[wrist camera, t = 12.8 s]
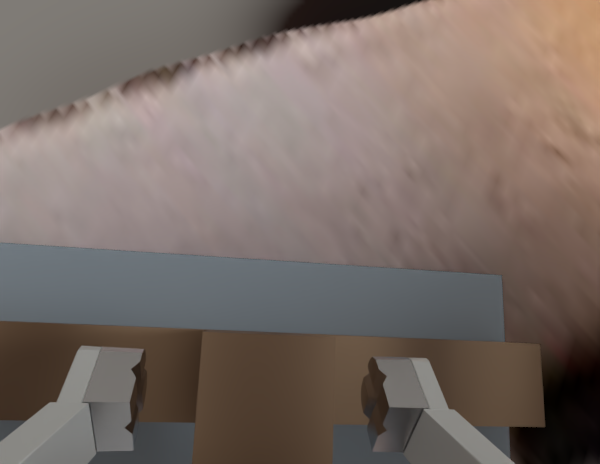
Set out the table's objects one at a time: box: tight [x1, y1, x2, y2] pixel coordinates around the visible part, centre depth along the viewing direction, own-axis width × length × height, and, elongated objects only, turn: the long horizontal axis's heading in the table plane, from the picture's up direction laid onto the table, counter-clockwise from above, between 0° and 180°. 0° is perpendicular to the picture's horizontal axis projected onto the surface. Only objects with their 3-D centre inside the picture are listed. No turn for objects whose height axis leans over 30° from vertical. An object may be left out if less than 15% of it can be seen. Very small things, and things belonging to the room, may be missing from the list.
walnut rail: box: [0, 321, 545, 464], centre depth 15 cm, size 22×3×9 cm, turn 87°
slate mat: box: [0, 243, 510, 464], centre depth 19 cm, size 23×9×1 cm, turn 87°
